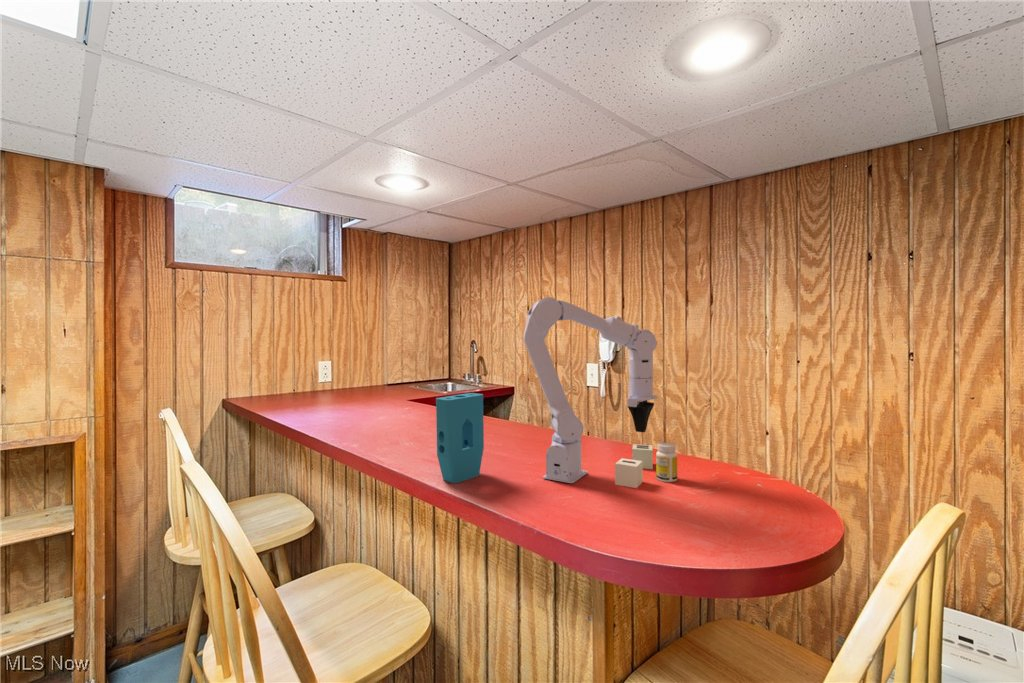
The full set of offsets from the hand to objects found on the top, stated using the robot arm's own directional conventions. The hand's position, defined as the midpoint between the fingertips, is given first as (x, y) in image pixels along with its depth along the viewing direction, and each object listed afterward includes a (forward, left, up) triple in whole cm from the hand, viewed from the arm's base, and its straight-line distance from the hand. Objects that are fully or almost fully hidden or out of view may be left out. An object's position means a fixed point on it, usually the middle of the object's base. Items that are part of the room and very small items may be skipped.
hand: (640, 431), depth 115 cm
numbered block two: (+6, +1, -10) cm, 12 cm away
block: (-25, +37, -11) cm, 46 cm away
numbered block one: (-9, 0, -10) cm, 14 cm away
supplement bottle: (-2, -7, -11) cm, 13 cm away
